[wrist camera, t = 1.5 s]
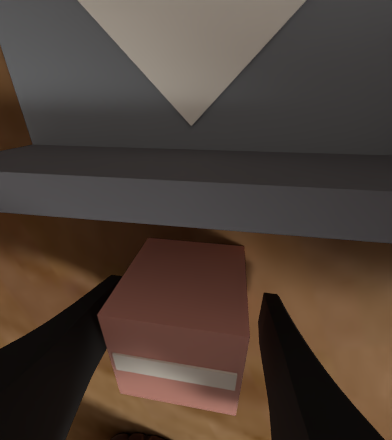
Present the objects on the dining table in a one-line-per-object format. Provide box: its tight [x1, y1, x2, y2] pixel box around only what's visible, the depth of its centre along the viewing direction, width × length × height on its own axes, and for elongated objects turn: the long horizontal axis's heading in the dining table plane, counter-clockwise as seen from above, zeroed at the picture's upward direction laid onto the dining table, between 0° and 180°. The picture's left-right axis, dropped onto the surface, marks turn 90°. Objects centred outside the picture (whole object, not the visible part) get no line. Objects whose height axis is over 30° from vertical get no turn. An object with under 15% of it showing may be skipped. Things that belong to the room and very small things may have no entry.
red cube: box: [97, 238, 250, 416], centre depth 10 cm, size 5×5×5 cm
